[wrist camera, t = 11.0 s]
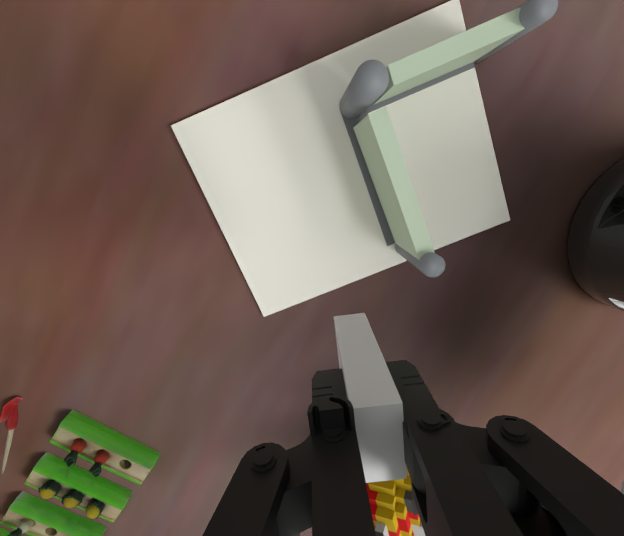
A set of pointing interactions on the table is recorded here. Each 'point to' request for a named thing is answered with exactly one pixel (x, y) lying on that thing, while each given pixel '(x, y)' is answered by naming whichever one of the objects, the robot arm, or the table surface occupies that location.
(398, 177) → the fence panel
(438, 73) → the fence fixed
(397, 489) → the toy
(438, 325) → the table surface
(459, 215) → the card
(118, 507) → the toy garden set
